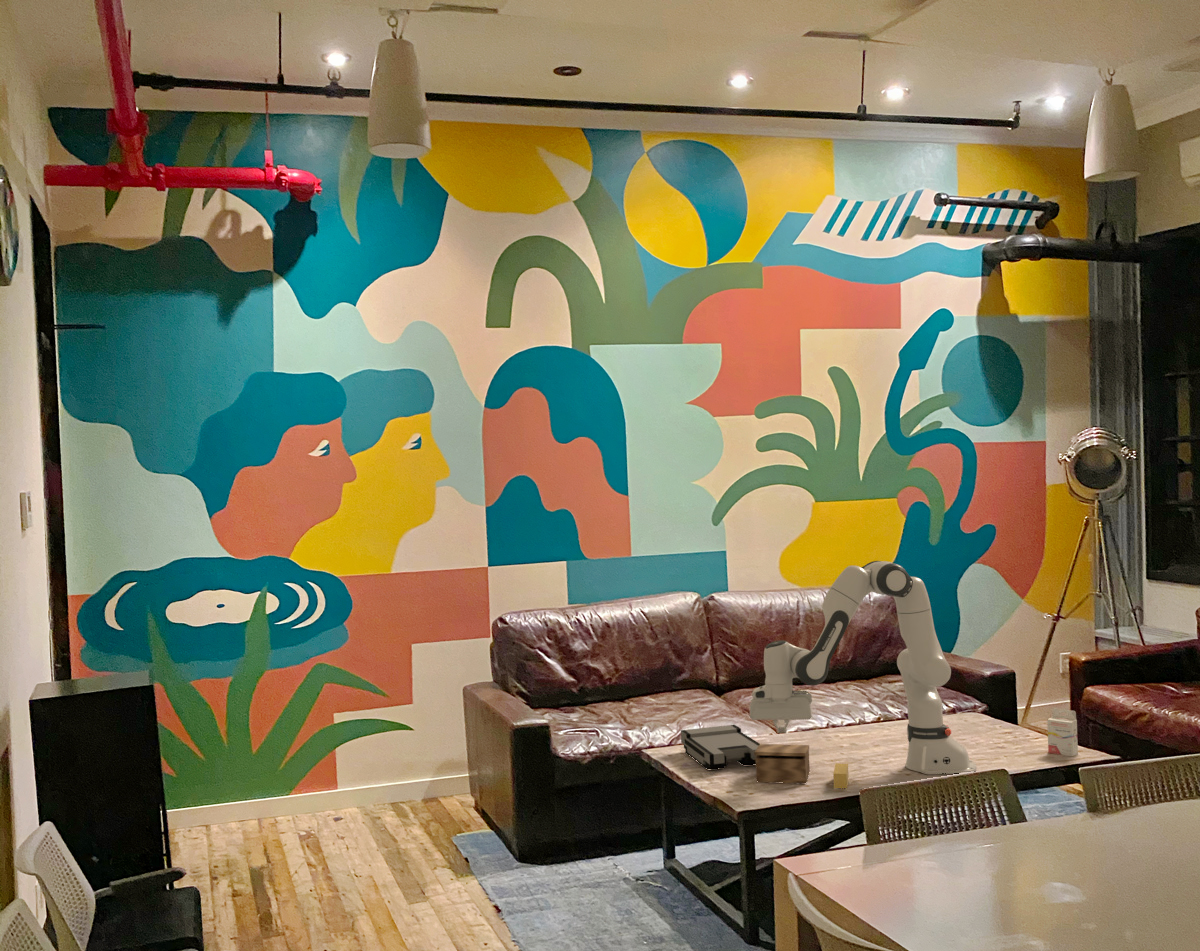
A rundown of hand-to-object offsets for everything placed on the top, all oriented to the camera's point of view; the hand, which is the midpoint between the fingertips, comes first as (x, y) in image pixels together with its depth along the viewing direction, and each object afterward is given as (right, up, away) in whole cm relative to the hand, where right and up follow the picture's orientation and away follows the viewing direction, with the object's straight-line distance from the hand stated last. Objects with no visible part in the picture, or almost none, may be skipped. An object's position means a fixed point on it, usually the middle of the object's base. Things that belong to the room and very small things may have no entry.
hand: (782, 732), depth 364 cm
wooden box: (+1, -15, +2) cm, 15 cm away
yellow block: (+18, -15, -8) cm, 24 cm away
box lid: (0, -7, +2) cm, 7 cm away
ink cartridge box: (+99, -11, +15) cm, 101 cm away
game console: (-16, -16, +27) cm, 36 cm away
